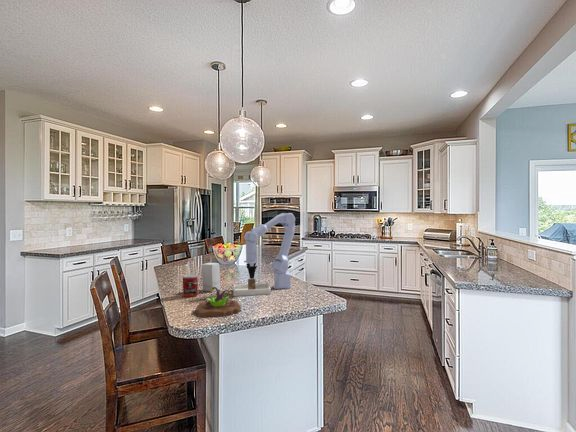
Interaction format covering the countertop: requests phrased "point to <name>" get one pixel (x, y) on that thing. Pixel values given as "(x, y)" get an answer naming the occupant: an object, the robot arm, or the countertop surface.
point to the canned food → (190, 285)
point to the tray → (260, 289)
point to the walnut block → (251, 284)
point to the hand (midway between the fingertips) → (251, 277)
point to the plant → (218, 306)
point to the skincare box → (210, 276)
